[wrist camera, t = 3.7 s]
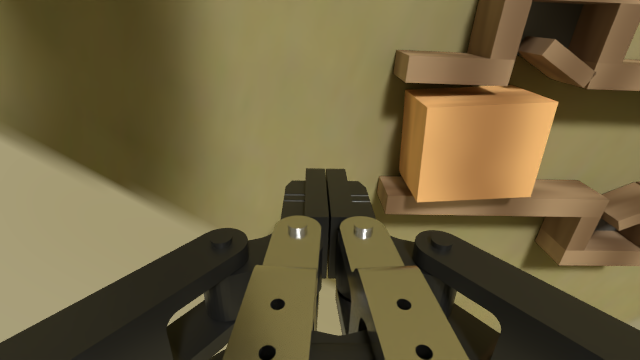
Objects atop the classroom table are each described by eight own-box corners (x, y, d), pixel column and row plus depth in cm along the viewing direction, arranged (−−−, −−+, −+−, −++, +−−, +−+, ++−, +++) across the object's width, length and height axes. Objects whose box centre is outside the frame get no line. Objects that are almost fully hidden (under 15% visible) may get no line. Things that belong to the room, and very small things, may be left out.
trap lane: (370, 239, 23) (382, 281, 19) (407, -34, 16) (437, -47, 12) (699, 243, 24) (766, 283, 21) (873, -9, 17) (1023, -14, 13)
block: (398, 169, 21) (416, 202, 17) (404, 89, 19) (427, 107, 15) (492, 165, 21) (530, 196, 17) (510, 84, 19) (558, 101, 15)
